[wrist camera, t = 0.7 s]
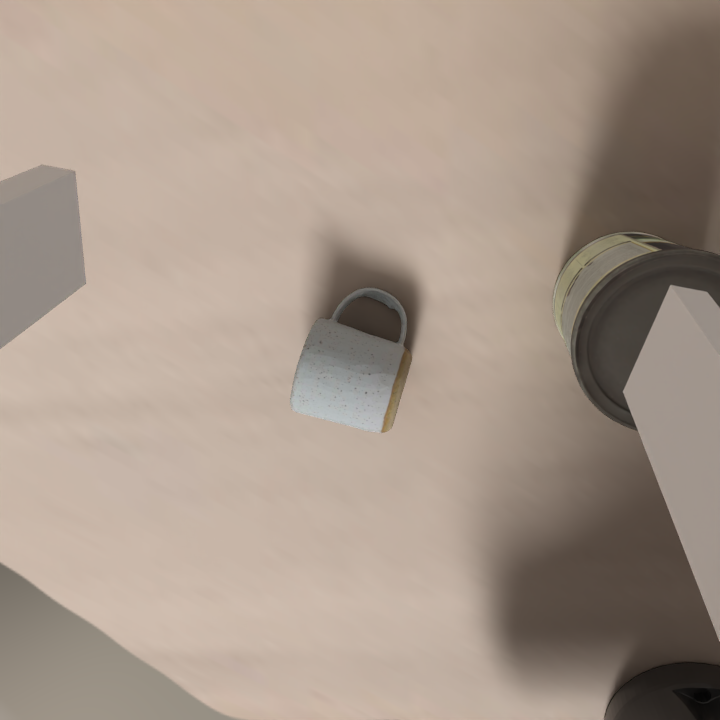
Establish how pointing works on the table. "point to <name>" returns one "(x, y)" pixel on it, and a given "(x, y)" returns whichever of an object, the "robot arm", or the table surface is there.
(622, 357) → the coffee can
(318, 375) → the ceramic mug
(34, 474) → the table surface
